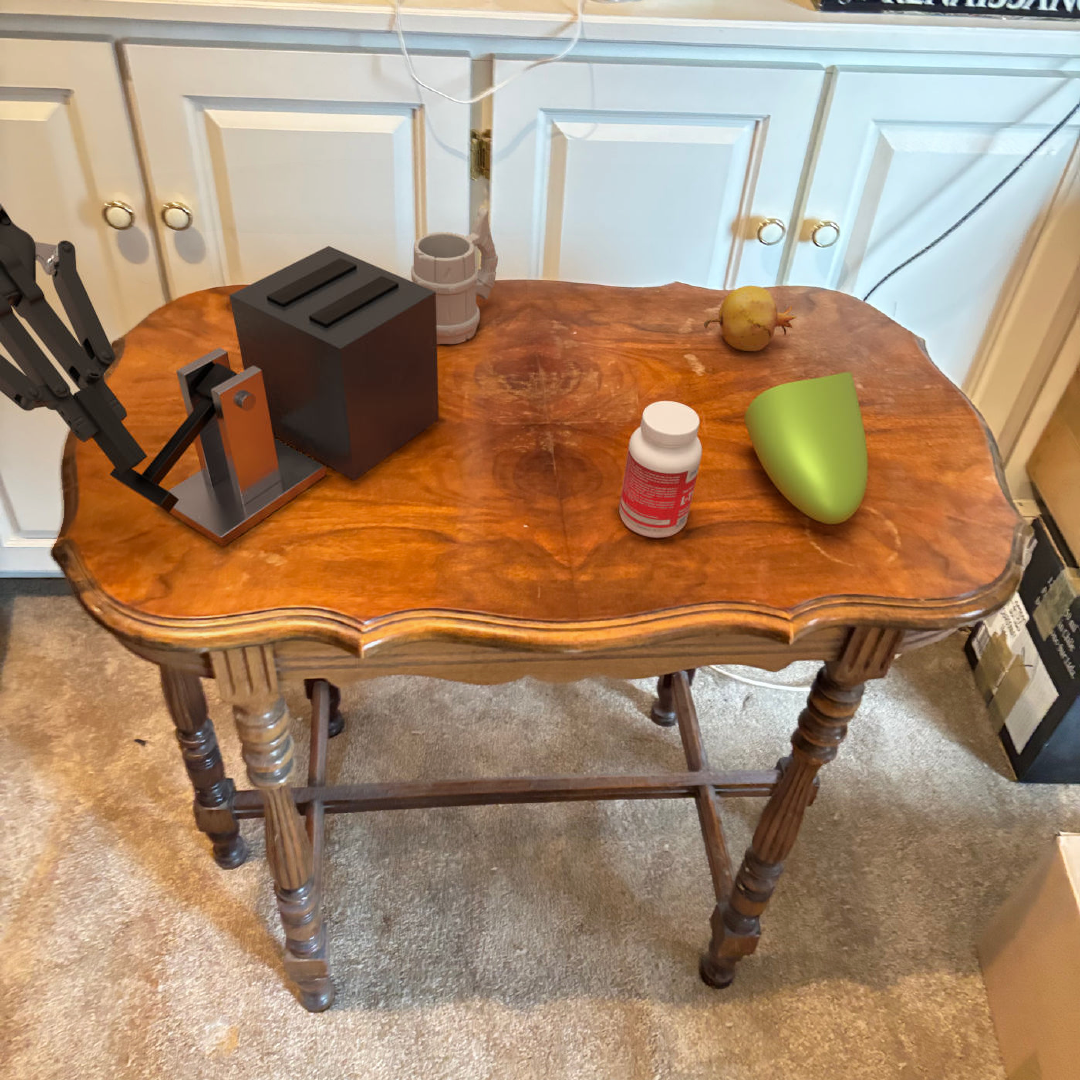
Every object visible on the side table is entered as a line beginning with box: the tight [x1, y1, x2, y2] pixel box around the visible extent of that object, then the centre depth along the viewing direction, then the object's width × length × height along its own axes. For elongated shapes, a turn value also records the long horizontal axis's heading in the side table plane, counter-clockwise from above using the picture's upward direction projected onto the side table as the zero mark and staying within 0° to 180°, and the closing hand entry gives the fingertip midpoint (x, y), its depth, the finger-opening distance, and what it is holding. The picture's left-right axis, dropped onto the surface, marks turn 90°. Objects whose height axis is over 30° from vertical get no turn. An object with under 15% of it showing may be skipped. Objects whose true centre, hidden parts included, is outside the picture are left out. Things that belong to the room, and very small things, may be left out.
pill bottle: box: [618, 400, 703, 538], centre depth 80 cm, size 6×6×11 cm
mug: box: [410, 207, 499, 345], centre depth 102 cm, size 8×12×12 cm, turn 140°
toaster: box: [229, 245, 440, 482], centre depth 86 cm, size 12×13×14 cm
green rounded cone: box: [743, 371, 869, 525], centre depth 87 cm, size 8×12×20 cm
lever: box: [109, 363, 238, 514], centre depth 75 cm, size 12×6×2 cm, turn 144°
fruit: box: [703, 285, 797, 352], centre depth 104 cm, size 7×7×10 cm
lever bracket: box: [168, 347, 327, 548], centre depth 79 cm, size 12×8×13 cm, turn 145°
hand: (134, 465), depth 72 cm, fingers closed
